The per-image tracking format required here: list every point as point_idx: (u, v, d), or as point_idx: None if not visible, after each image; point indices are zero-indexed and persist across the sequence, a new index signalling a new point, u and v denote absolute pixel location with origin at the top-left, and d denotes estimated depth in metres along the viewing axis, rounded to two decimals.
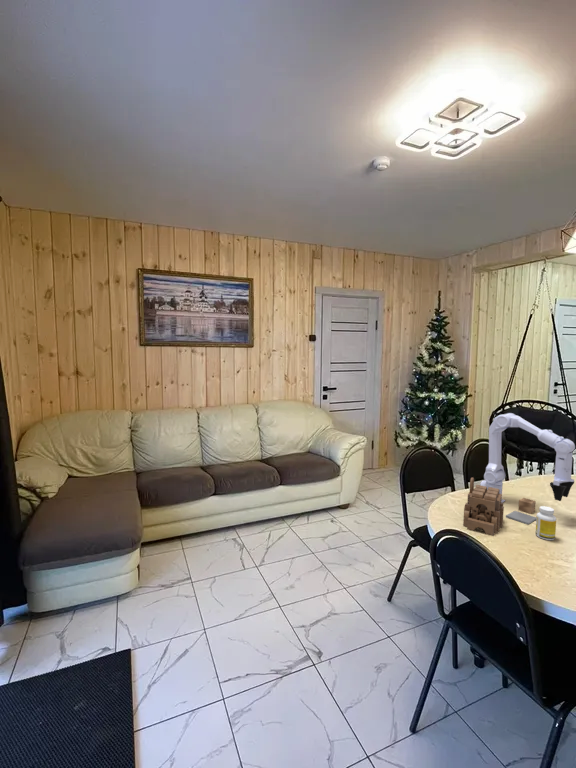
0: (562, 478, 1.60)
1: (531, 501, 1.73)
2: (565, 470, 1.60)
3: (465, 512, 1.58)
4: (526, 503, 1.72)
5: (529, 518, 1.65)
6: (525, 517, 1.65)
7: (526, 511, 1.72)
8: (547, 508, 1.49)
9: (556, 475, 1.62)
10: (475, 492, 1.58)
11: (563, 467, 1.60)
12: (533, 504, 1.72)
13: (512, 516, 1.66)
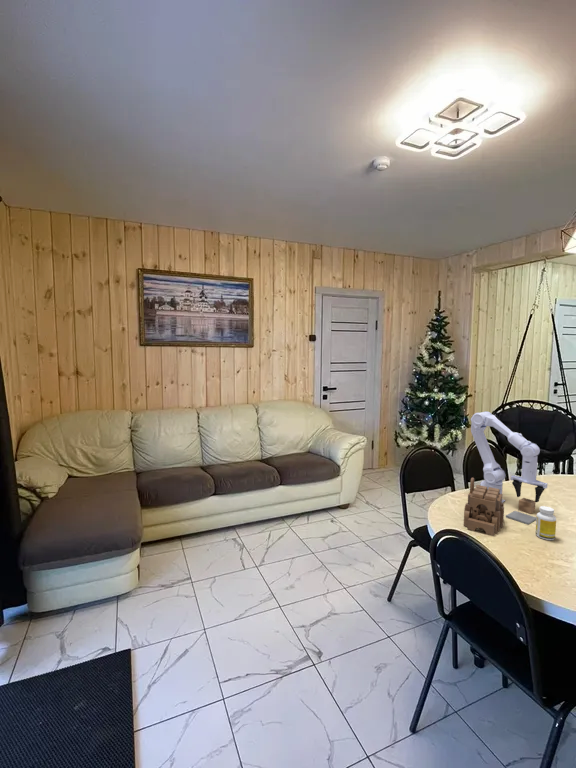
0: (521, 477, 1.75)
1: (531, 501, 1.73)
2: (522, 470, 1.74)
3: (465, 512, 1.58)
4: (526, 503, 1.72)
5: (529, 518, 1.65)
6: (525, 517, 1.65)
7: (526, 511, 1.72)
8: (547, 508, 1.49)
9: None
10: (475, 492, 1.58)
11: (528, 470, 1.71)
12: (533, 504, 1.72)
13: (512, 516, 1.66)
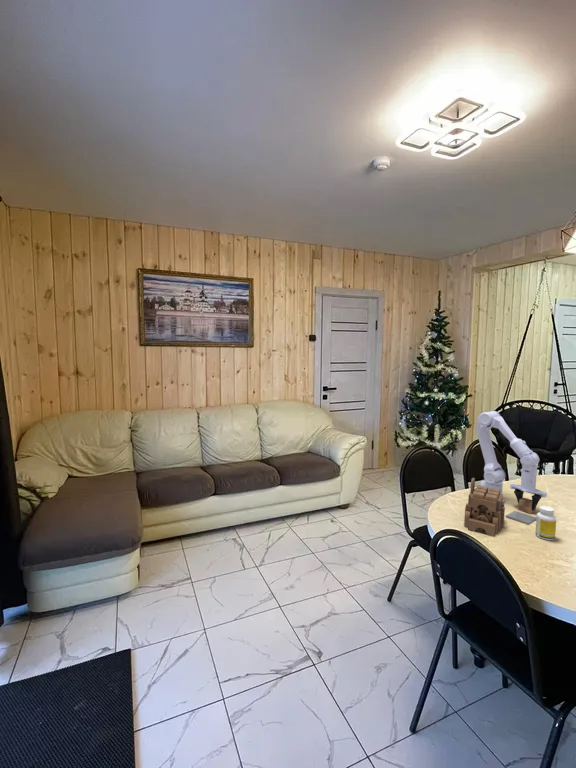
0: (520, 486, 1.75)
1: (531, 501, 1.73)
2: (521, 479, 1.74)
3: (466, 513, 1.58)
4: (526, 503, 1.72)
5: (529, 518, 1.65)
6: (525, 517, 1.65)
7: (526, 511, 1.72)
8: (547, 508, 1.49)
9: None
10: (476, 492, 1.58)
11: (528, 479, 1.71)
12: None
13: (512, 516, 1.66)
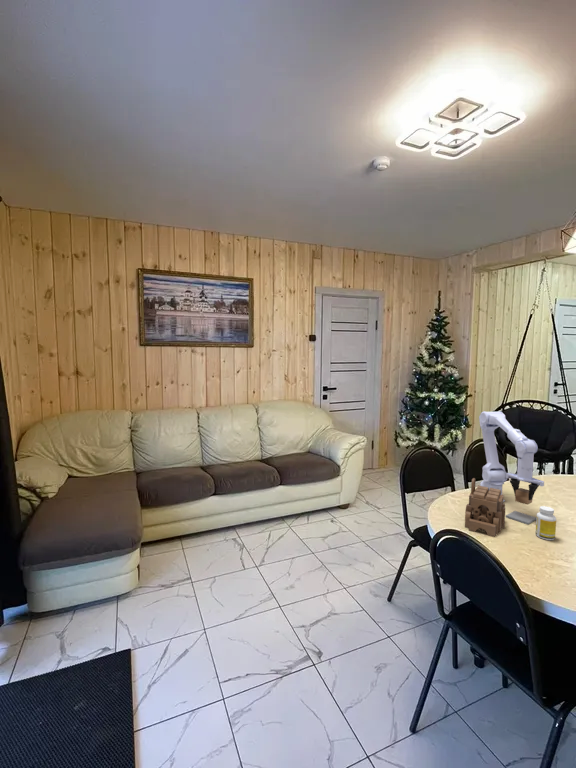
0: (517, 475, 1.68)
1: (528, 491, 1.65)
2: None
3: (466, 513, 1.57)
4: (523, 493, 1.65)
5: (529, 518, 1.65)
6: (525, 517, 1.65)
7: (523, 501, 1.65)
8: (547, 508, 1.49)
9: None
10: (476, 493, 1.57)
11: (521, 466, 1.64)
12: None
13: (512, 516, 1.66)
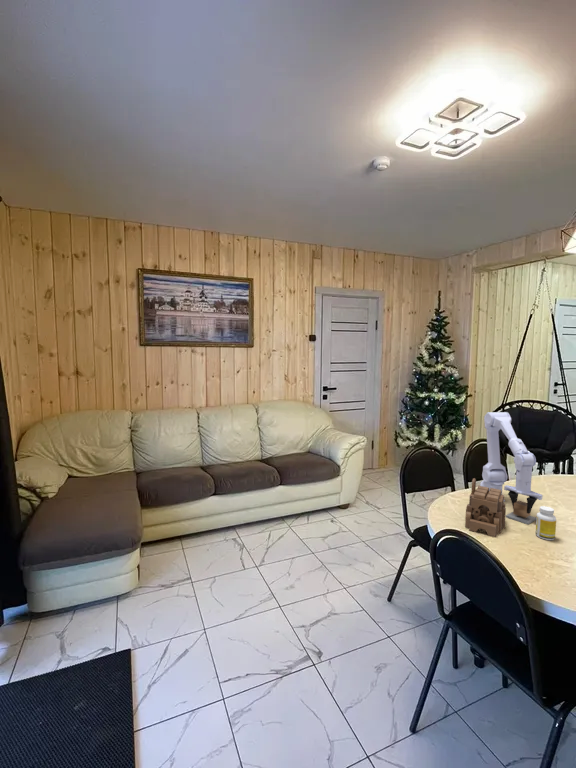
0: (515, 488, 1.67)
1: None
2: (516, 480, 1.66)
3: (467, 513, 1.57)
4: (521, 506, 1.64)
5: (529, 518, 1.65)
6: None
7: (521, 514, 1.64)
8: (547, 508, 1.49)
9: None
10: (477, 493, 1.57)
11: (519, 479, 1.64)
12: None
13: (512, 516, 1.66)
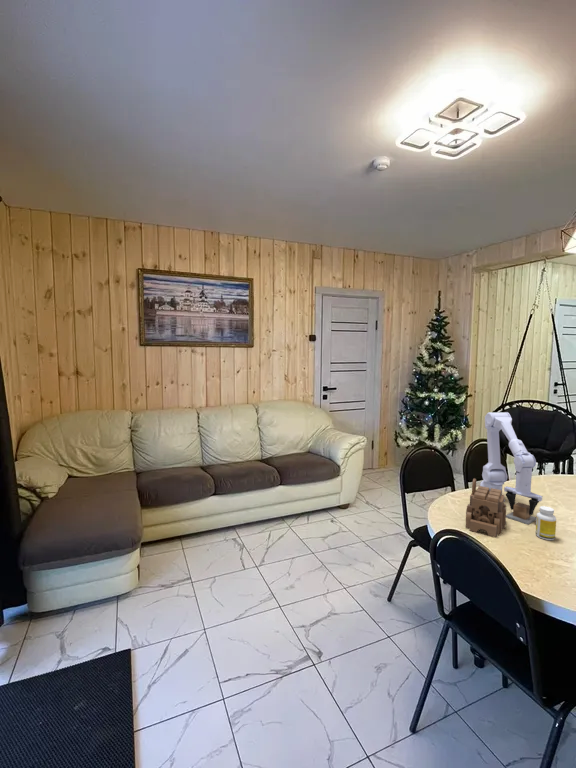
0: (515, 489, 1.67)
1: (526, 506, 1.65)
2: (516, 481, 1.66)
3: (467, 513, 1.57)
4: (521, 508, 1.64)
5: (529, 518, 1.65)
6: None
7: (521, 516, 1.64)
8: (547, 508, 1.49)
9: None
10: (477, 493, 1.57)
11: (518, 480, 1.64)
12: (528, 509, 1.64)
13: (512, 516, 1.66)
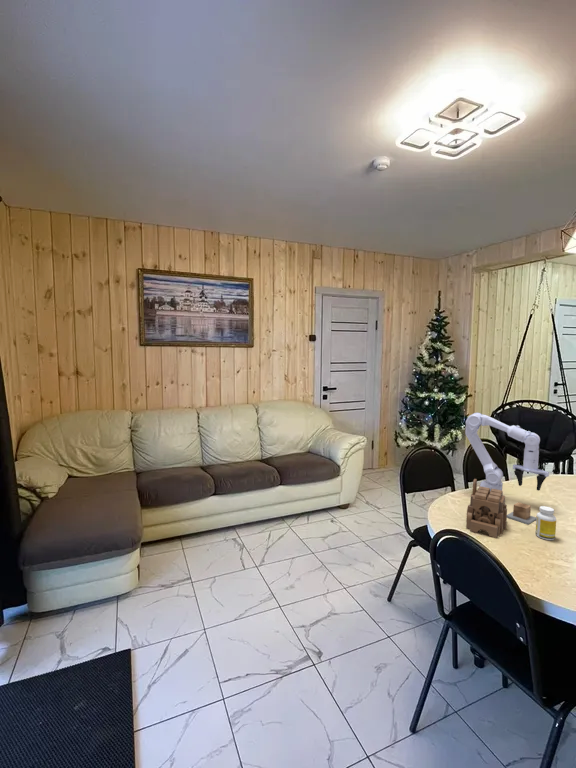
0: (523, 466, 1.78)
1: (526, 506, 1.65)
2: (524, 459, 1.77)
3: (468, 514, 1.56)
4: (521, 508, 1.64)
5: (529, 518, 1.65)
6: None
7: (521, 516, 1.64)
8: (547, 508, 1.49)
9: None
10: (478, 494, 1.56)
11: (532, 459, 1.73)
12: (528, 509, 1.64)
13: (512, 516, 1.66)
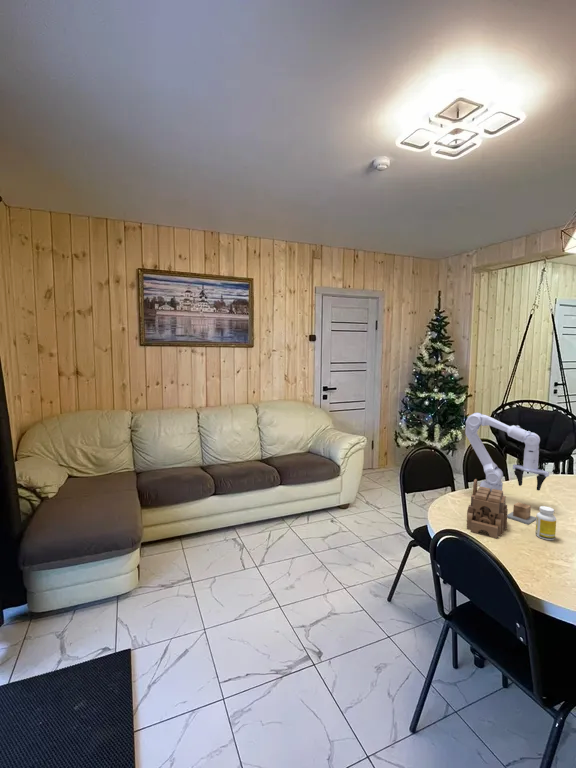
0: (523, 466, 1.78)
1: (526, 506, 1.65)
2: (524, 459, 1.77)
3: (468, 514, 1.56)
4: (521, 508, 1.64)
5: (529, 518, 1.65)
6: None
7: (521, 516, 1.64)
8: (547, 508, 1.49)
9: None
10: (479, 494, 1.56)
11: (532, 459, 1.73)
12: (528, 509, 1.64)
13: (512, 516, 1.66)
